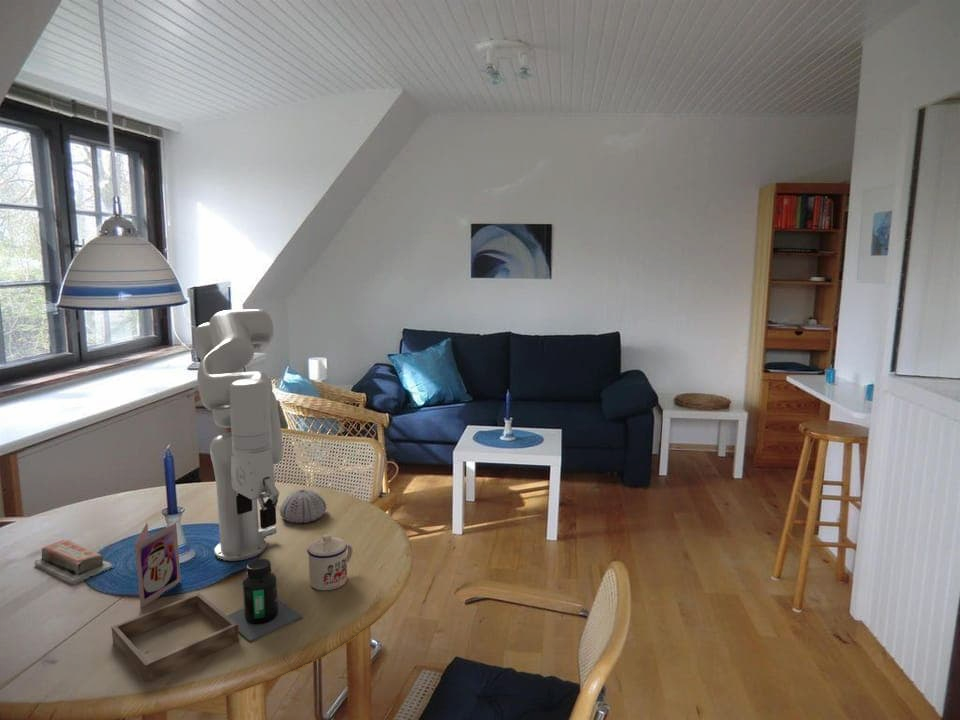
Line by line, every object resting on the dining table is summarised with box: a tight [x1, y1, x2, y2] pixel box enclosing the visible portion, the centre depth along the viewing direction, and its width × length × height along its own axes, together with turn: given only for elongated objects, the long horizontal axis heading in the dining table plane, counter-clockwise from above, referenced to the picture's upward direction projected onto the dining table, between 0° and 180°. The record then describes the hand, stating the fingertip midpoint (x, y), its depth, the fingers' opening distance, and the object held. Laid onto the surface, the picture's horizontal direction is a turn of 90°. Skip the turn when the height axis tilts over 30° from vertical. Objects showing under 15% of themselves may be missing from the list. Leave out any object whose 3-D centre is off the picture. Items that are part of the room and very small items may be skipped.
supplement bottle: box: [242, 558, 279, 624], centre depth 138 cm, size 7×7×12 cm
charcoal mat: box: [226, 598, 304, 643], centre depth 138 cm, size 12×12×1 cm
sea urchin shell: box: [279, 488, 327, 524], centre depth 190 cm, size 13×14×8 cm
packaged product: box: [34, 539, 114, 585], centre depth 160 cm, size 18×5×10 cm
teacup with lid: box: [306, 533, 354, 591], centre depth 154 cm, size 12×9×12 cm
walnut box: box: [111, 592, 240, 684], centre depth 130 cm, size 18×18×4 cm
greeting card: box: [134, 522, 182, 608], centre depth 147 cm, size 11×7×15 cm, turn 160°
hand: (256, 519), depth 135 cm, fingers open, 9 cm apart
